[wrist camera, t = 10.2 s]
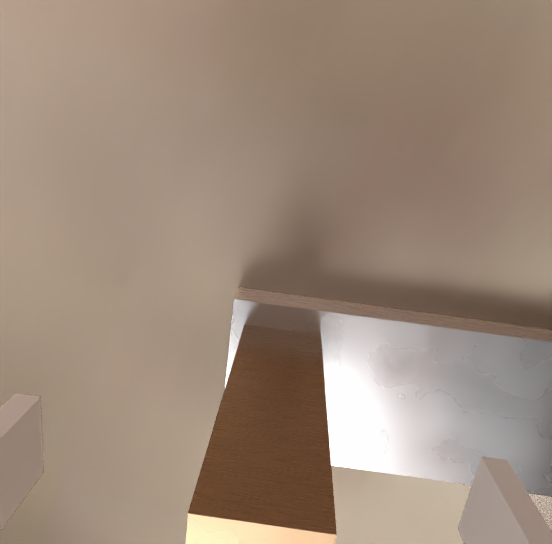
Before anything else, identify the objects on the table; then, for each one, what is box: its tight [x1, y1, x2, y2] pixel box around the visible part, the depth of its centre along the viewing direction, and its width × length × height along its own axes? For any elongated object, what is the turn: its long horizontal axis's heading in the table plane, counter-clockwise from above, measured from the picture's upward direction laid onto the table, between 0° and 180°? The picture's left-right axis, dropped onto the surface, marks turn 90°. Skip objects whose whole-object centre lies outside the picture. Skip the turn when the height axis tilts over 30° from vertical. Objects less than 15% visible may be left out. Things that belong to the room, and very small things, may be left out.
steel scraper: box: [186, 287, 552, 544], centre depth 15 cm, size 19×7×10 cm, turn 83°
